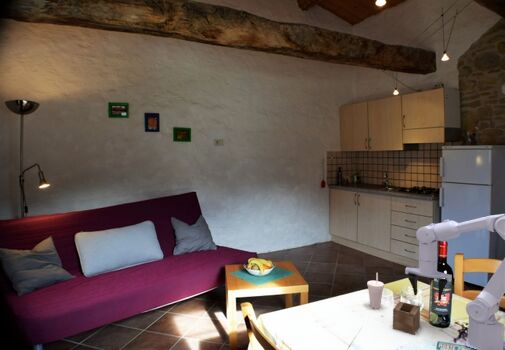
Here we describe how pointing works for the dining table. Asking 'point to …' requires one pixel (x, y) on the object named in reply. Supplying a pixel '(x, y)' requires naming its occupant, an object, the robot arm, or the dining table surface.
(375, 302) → the smoothie
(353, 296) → the dining table surface
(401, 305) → the box
